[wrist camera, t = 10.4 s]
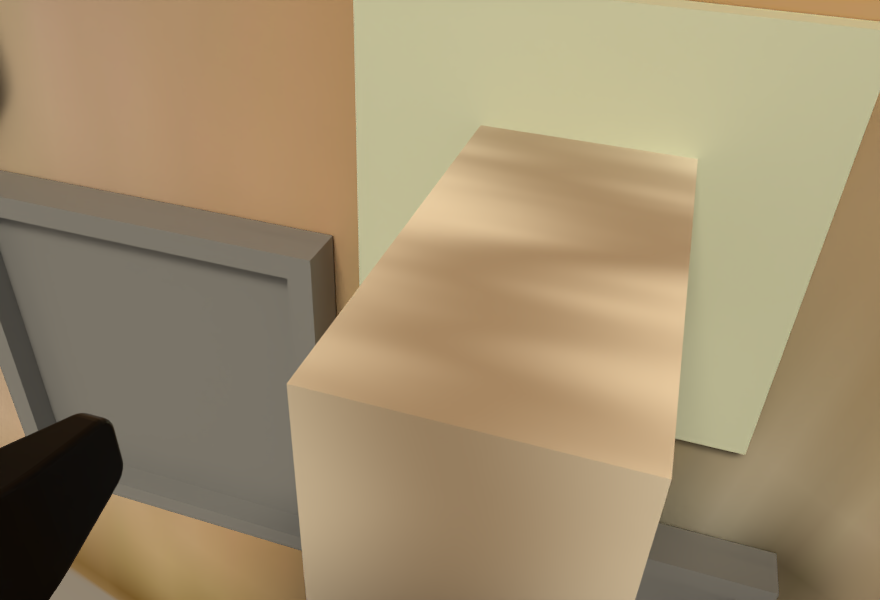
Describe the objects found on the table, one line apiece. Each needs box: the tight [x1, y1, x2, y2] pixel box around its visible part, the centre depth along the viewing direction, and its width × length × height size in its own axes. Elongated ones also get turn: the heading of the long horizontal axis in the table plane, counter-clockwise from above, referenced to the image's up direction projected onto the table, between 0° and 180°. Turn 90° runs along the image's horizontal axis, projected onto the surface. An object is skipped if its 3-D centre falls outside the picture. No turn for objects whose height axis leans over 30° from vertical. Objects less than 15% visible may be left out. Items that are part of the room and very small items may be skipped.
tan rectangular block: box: [287, 125, 698, 600], centre depth 12 cm, size 4×4×8 cm
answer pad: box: [353, 0, 880, 455], centre depth 15 cm, size 9×9×1 cm
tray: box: [0, 170, 336, 551], centre depth 21 cm, size 10×10×1 cm
